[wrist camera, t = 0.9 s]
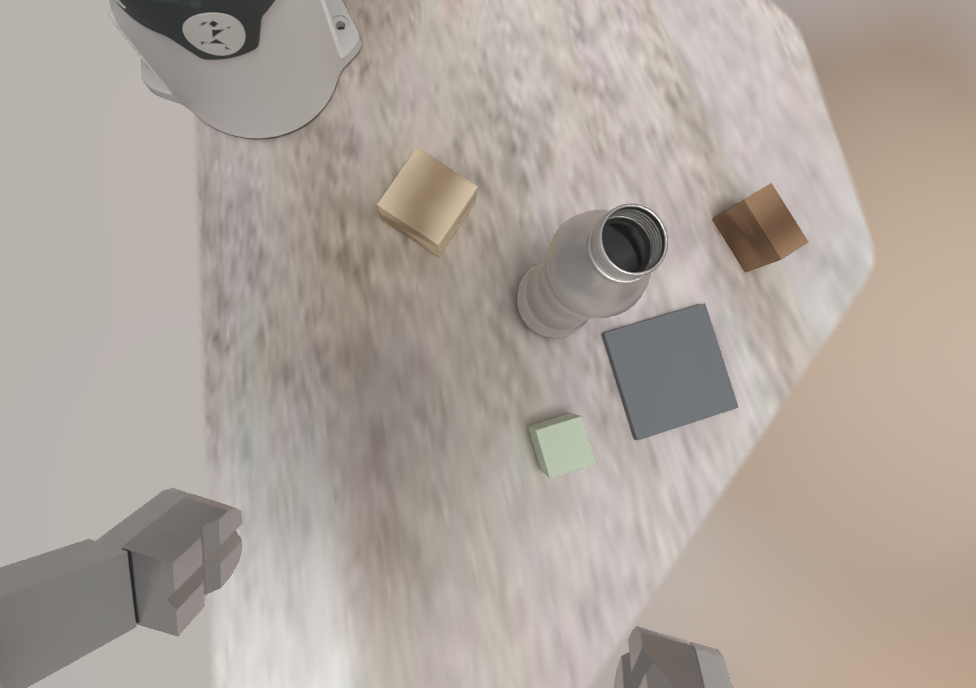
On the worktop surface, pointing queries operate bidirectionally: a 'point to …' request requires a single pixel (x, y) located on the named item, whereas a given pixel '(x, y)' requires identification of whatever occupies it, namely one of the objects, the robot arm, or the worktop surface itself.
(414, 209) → the beech brick
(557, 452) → the sage brick
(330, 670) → the worktop surface
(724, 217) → the walnut brick
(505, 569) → the worktop surface
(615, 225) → the plastic bottle
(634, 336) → the mat
